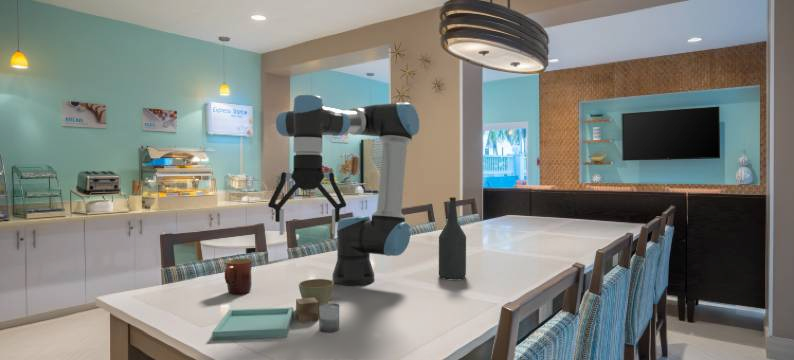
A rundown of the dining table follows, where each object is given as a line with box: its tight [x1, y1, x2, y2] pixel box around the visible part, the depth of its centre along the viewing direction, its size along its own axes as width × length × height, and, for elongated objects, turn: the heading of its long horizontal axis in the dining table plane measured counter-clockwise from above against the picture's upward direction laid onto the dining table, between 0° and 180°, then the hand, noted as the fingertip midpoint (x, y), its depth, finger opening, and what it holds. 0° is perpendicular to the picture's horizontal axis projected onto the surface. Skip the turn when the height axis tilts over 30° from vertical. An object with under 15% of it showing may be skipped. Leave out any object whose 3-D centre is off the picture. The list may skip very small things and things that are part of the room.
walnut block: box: [295, 297, 319, 324], centre depth 122 cm, size 5×5×5 cm
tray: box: [211, 306, 294, 341], centre depth 116 cm, size 17×17×2 cm
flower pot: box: [298, 278, 334, 311], centre depth 132 cm, size 10×10×7 cm
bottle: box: [438, 196, 467, 280], centre depth 170 cm, size 10×10×30 cm
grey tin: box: [318, 302, 340, 334], centre depth 114 cm, size 5×5×6 cm
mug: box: [224, 257, 254, 296], centre depth 146 cm, size 12×9×10 cm
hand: (307, 234), depth 121 cm, fingers open, 13 cm apart
